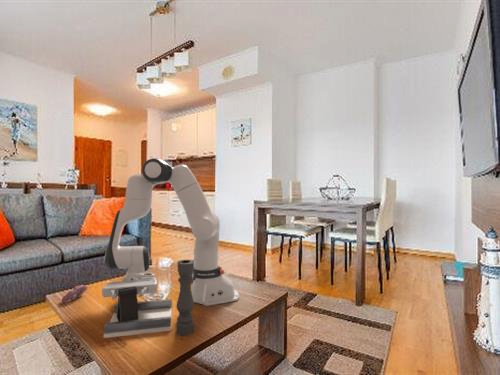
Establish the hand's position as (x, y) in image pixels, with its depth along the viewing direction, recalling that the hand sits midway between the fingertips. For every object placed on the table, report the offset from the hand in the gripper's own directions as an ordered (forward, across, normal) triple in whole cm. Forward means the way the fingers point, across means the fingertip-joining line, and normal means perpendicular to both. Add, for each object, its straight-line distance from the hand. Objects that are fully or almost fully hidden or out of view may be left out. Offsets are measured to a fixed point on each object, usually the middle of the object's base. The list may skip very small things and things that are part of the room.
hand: (127, 295), depth 106 cm
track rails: (-1, +5, +11) cm, 12 cm away
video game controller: (-29, -27, +11) cm, 41 cm away
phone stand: (-1, 0, +10) cm, 10 cm away
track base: (-1, +5, +11) cm, 12 cm away
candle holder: (+10, +21, +11) cm, 25 cm away
